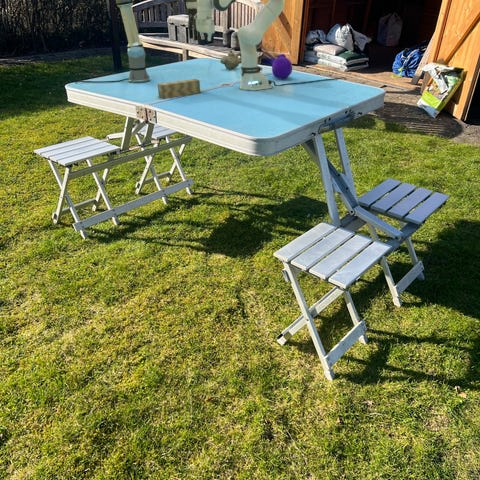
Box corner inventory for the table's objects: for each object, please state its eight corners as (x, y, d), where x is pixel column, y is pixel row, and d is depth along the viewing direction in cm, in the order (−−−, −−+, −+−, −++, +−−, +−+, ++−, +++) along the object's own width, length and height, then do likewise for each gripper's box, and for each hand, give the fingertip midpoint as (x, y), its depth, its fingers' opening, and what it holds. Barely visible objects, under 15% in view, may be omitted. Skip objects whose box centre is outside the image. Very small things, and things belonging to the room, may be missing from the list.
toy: (277, 73, 354) (291, 83, 334) (257, 69, 347) (271, 79, 326) (283, 52, 346) (298, 62, 326) (263, 47, 339) (277, 57, 318)
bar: (162, 98, 289) (161, 85, 284) (158, 97, 293) (157, 84, 289) (200, 92, 301) (199, 80, 297) (196, 91, 305) (195, 78, 301)
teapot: (224, 71, 366) (223, 51, 359) (217, 69, 375) (216, 50, 367) (246, 68, 375) (246, 49, 368) (239, 67, 384) (239, 48, 376)
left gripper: (201, 8, 323) (203, 40, 334) (192, 7, 344) (194, 37, 354) (191, 9, 321) (193, 41, 332) (182, 7, 341) (184, 37, 352)
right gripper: (216, 16, 274) (217, 41, 281) (202, 15, 290) (203, 38, 297) (207, 17, 272) (208, 42, 279) (193, 15, 287) (195, 39, 294)
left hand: (193, 39), depth 343 cm, fingers open, 13 cm apart
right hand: (206, 40), depth 288 cm, fingers open, 8 cm apart
